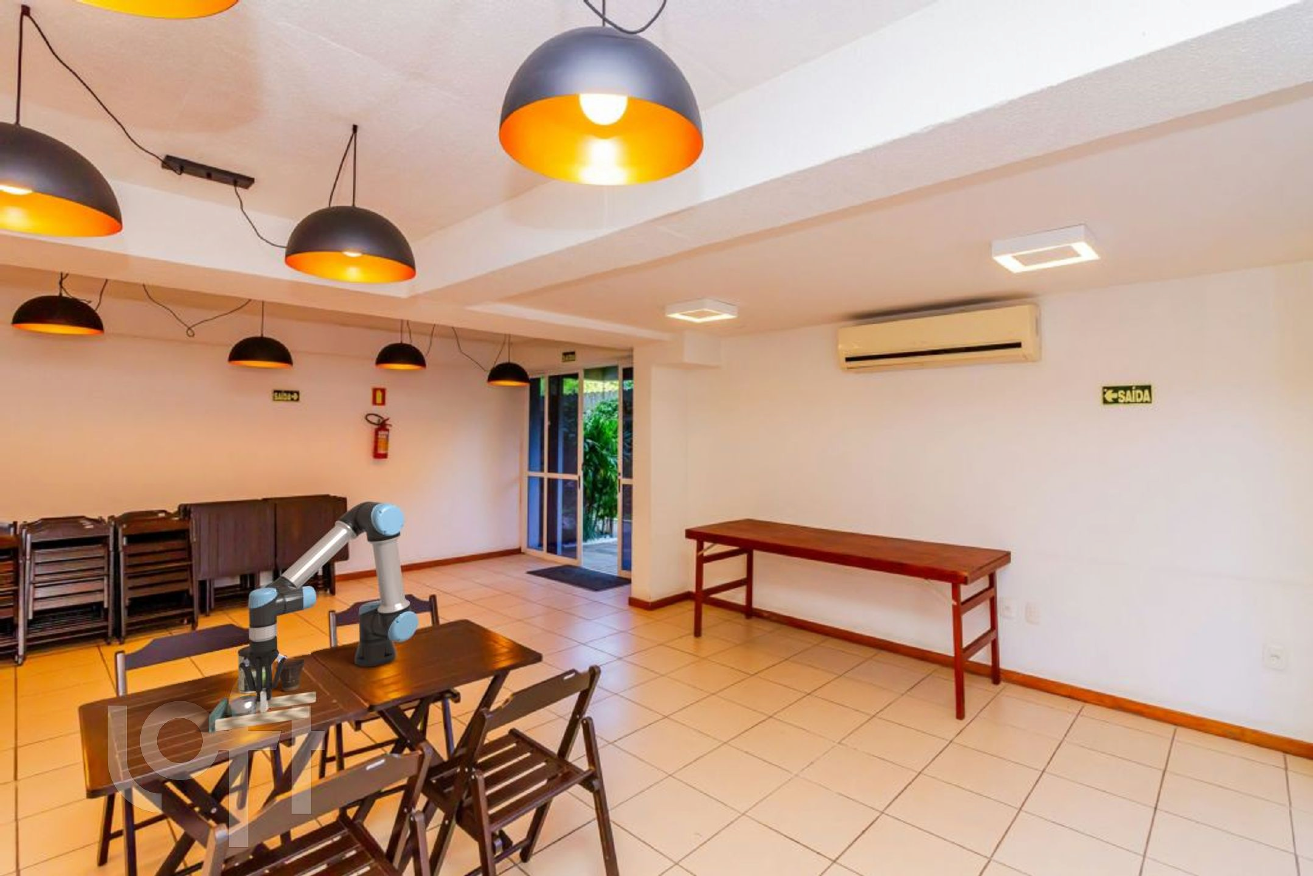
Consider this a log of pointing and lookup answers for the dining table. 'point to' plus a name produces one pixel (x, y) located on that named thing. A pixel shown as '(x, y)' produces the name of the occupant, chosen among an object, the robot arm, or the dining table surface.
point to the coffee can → (243, 683)
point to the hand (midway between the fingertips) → (264, 710)
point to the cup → (291, 674)
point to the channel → (224, 708)
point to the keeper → (244, 706)
